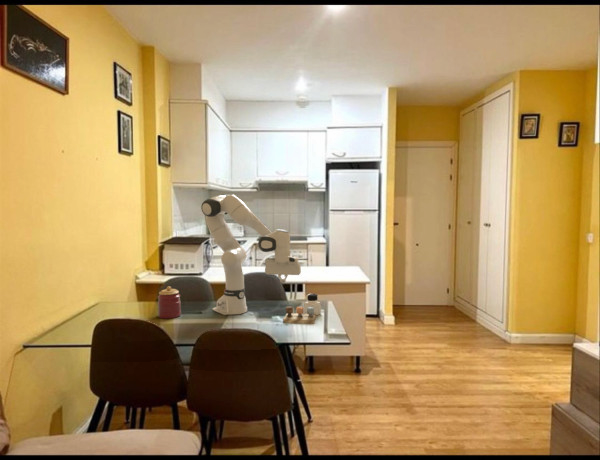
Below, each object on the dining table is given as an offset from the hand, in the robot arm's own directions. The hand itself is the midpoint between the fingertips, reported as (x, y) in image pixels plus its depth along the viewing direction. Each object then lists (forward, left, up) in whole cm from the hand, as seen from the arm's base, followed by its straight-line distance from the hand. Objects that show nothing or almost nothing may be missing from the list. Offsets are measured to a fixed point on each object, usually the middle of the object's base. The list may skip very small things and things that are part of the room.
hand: (282, 282), depth 224 cm
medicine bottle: (+7, +18, -21) cm, 29 cm away
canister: (-58, -36, -21) cm, 72 cm away
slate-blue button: (+14, +7, -19) cm, 25 cm away
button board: (+9, +4, -21) cm, 23 cm away
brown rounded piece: (+3, +2, -19) cm, 19 cm away
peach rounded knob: (+8, +5, -19) cm, 21 cm away
